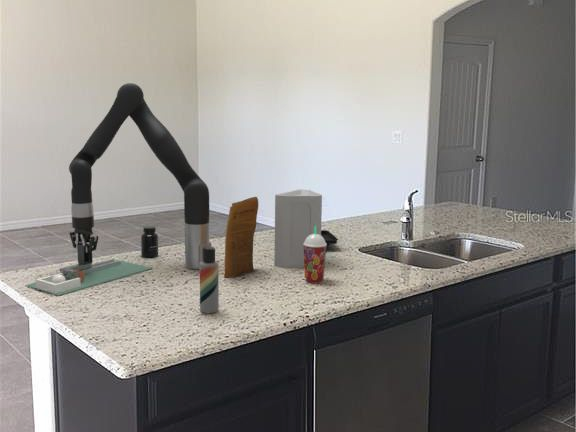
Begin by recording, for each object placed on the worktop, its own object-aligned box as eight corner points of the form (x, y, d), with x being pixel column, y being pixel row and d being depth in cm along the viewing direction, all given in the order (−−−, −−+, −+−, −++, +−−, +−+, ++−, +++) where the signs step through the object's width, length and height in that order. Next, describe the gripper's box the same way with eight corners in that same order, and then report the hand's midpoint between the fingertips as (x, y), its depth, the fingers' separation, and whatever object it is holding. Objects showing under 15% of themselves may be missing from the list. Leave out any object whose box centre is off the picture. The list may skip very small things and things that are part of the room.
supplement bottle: (154, 258, 250) (153, 229, 248) (138, 257, 251) (137, 228, 249) (161, 254, 257) (160, 226, 254) (145, 253, 258) (144, 225, 256)
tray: (268, 245, 275) (268, 234, 274) (297, 236, 294) (297, 225, 293) (326, 256, 259) (326, 244, 258) (353, 245, 278) (353, 234, 277)
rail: (121, 264, 239) (120, 260, 238) (57, 281, 216) (57, 277, 216) (113, 262, 241) (113, 258, 241) (50, 279, 218) (49, 275, 218)
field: (152, 268, 235) (152, 267, 235) (58, 296, 202) (58, 295, 202) (120, 261, 245) (120, 260, 245) (25, 286, 212) (25, 285, 212)
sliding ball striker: (107, 274, 224) (106, 247, 222) (80, 282, 214) (78, 254, 213) (87, 269, 231) (85, 242, 229) (59, 276, 221) (57, 248, 219)
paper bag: (306, 272, 234) (307, 198, 229) (273, 266, 242) (274, 194, 236) (330, 261, 250) (332, 192, 244) (299, 256, 257) (300, 189, 252)
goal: (80, 286, 211) (80, 278, 210) (55, 293, 203) (55, 285, 202) (61, 281, 217) (61, 272, 216) (36, 288, 209) (35, 279, 208)
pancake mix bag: (263, 269, 237) (264, 196, 232) (231, 280, 222) (231, 203, 217) (250, 266, 241) (250, 194, 236) (217, 277, 226) (216, 201, 220)
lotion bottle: (200, 307, 193) (199, 244, 189) (218, 307, 194) (218, 244, 190) (199, 313, 188) (198, 249, 184) (218, 313, 188) (218, 249, 184)
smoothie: (328, 279, 226) (329, 225, 222) (322, 285, 218) (323, 229, 214) (306, 276, 228) (307, 223, 224) (299, 282, 220) (300, 227, 217)
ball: (69, 286, 210) (67, 274, 209) (57, 290, 207) (56, 277, 206) (61, 284, 213) (59, 271, 212) (49, 287, 209) (48, 275, 208)
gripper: (104, 215, 223) (106, 261, 226) (78, 210, 231) (81, 255, 234) (86, 218, 217) (89, 266, 220) (61, 213, 225) (64, 260, 228)
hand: (85, 260), depth 227 cm, fingers closed on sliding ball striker, 3 cm apart
